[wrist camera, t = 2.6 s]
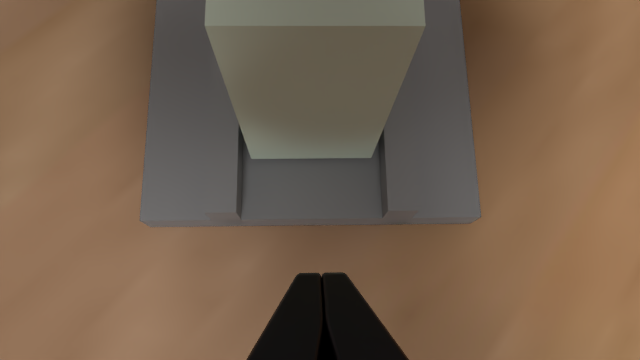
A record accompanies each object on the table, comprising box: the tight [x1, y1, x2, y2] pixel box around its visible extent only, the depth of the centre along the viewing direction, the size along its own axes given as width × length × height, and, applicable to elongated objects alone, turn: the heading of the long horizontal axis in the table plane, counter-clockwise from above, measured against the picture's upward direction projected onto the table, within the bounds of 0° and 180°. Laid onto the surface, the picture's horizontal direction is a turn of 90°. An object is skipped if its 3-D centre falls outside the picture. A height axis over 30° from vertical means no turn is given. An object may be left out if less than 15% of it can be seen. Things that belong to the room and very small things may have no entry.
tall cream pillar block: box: [205, 0, 426, 159], centre depth 17 cm, size 5×5×10 cm
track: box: [140, 0, 481, 227], centre depth 21 cm, size 16×14×6 cm
